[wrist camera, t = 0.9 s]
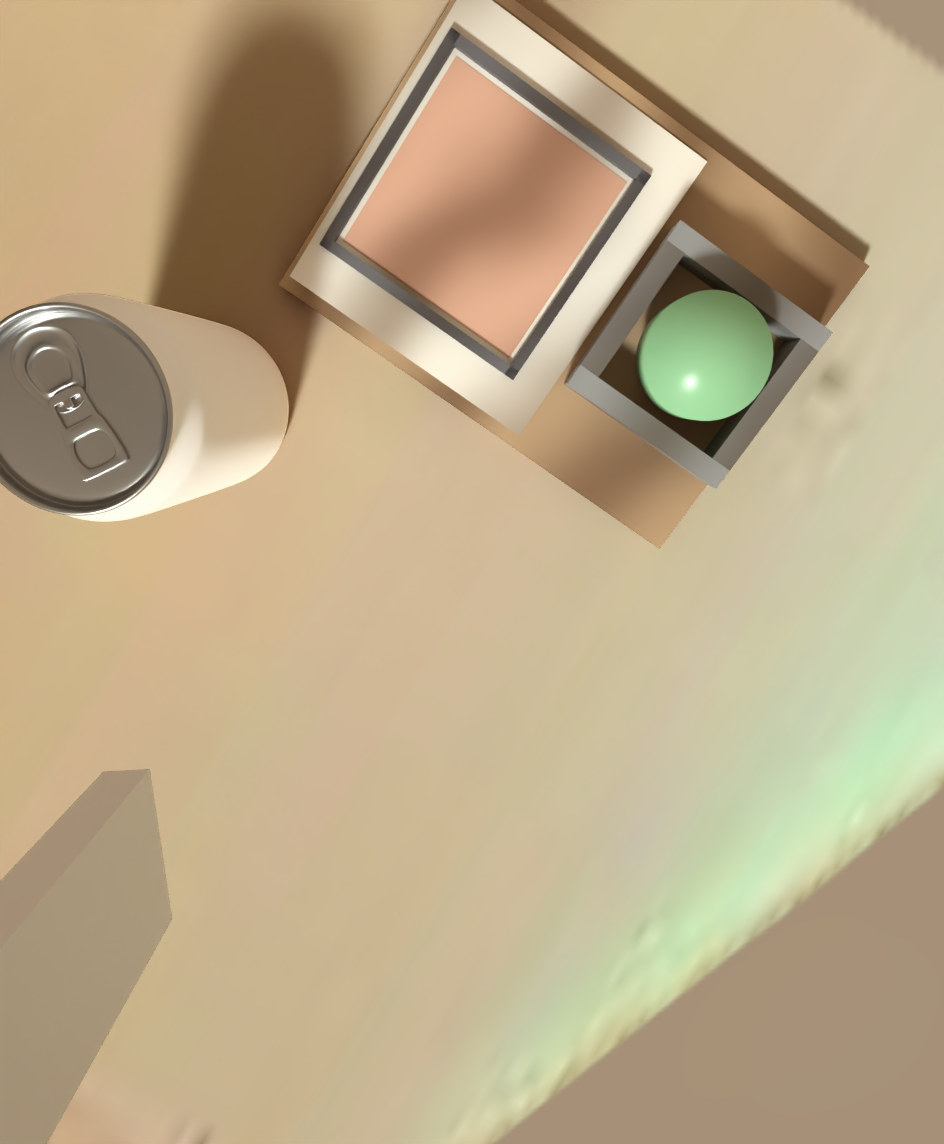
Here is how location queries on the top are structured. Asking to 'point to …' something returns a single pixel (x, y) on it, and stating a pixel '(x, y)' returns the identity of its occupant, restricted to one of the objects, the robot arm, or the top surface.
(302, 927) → the top surface
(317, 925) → the top surface
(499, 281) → the tan rectangular board
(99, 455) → the can
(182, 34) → the top surface
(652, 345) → the button
